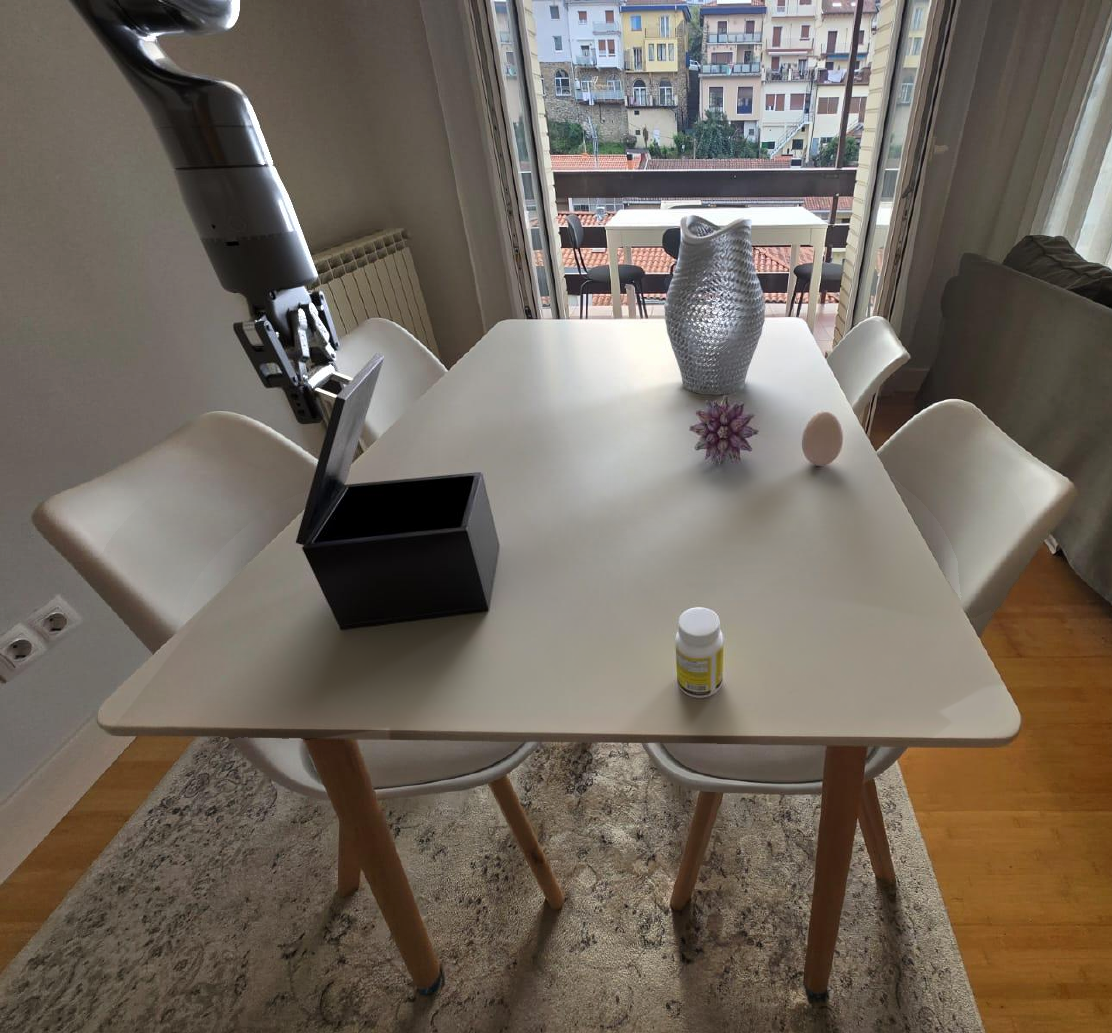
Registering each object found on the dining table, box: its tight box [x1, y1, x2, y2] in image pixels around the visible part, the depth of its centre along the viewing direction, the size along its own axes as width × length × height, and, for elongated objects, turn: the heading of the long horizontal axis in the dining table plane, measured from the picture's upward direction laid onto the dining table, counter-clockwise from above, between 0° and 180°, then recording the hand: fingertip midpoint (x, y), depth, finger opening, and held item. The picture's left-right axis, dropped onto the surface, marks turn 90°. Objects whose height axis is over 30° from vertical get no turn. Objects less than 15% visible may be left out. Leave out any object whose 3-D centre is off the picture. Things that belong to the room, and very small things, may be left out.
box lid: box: [295, 353, 385, 546], centre depth 60 cm, size 18×14×5 cm
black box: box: [301, 471, 501, 631], centre depth 69 cm, size 17×14×12 cm
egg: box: [801, 410, 844, 467], centre depth 96 cm, size 7×7×10 cm
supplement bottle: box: [674, 606, 725, 699], centre depth 56 cm, size 5×5×8 cm
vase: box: [663, 214, 766, 395], centre depth 124 cm, size 22×22×35 cm
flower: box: [688, 395, 760, 466], centre depth 97 cm, size 12×12×12 cm
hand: (324, 409), depth 58 cm, fingers closed on box lid, 6 cm apart
